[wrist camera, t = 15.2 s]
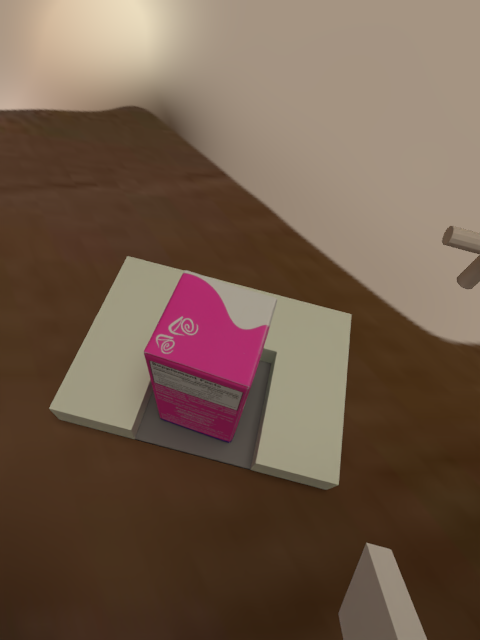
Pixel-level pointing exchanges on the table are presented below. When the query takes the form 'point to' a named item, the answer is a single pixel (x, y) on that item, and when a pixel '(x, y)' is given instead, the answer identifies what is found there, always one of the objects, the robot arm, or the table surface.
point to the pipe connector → (468, 242)
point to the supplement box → (207, 353)
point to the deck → (263, 399)
